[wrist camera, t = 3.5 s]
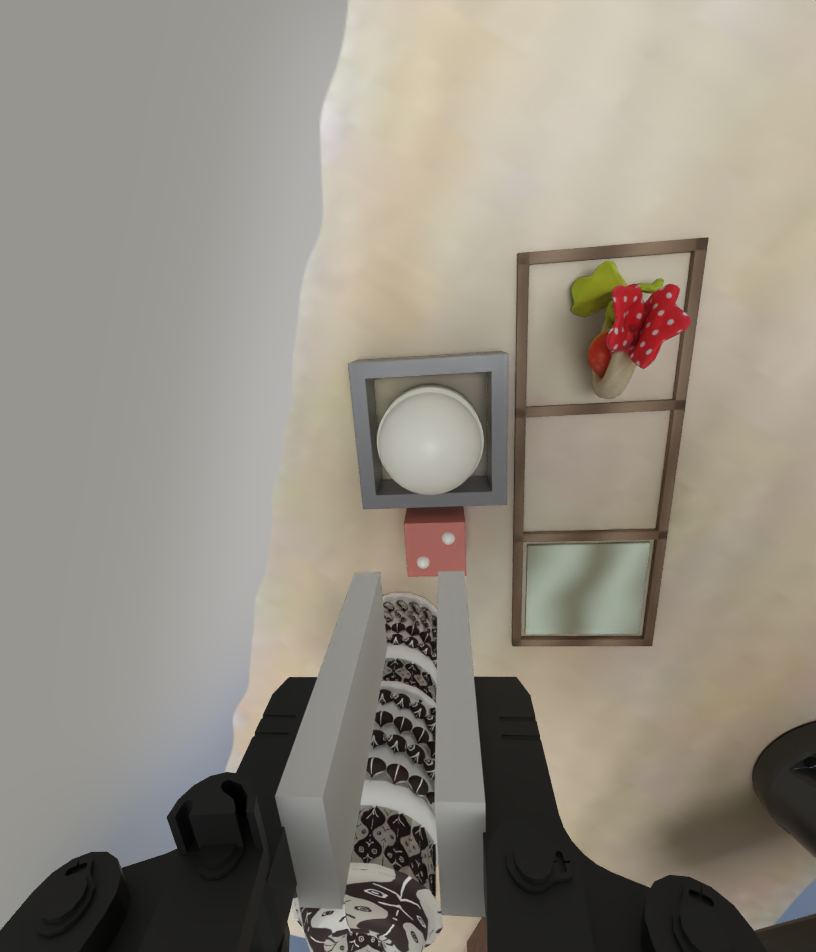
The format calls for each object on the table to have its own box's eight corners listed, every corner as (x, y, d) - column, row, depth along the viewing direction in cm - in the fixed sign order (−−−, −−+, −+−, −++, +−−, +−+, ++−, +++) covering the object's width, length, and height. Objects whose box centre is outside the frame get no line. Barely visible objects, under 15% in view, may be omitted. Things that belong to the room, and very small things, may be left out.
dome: (479, 380, 34) (489, 394, 27) (480, 476, 37) (489, 512, 30) (379, 386, 35) (362, 400, 28) (386, 479, 37) (373, 515, 30)
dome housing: (501, 351, 36) (511, 354, 30) (500, 546, 41) (508, 578, 36) (357, 360, 37) (343, 365, 31) (376, 549, 42) (366, 580, 37)
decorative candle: (347, 597, 44) (240, 900, 21) (435, 581, 43) (428, 886, 19) (372, 667, 47) (301, 1008, 23) (455, 654, 46) (470, 1002, 22)
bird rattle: (629, 359, 37) (668, 243, 31) (679, 438, 29) (745, 301, 23) (554, 359, 38) (578, 244, 32) (582, 436, 29) (622, 302, 23)
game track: (704, 238, 32) (708, 237, 32) (649, 642, 43) (652, 646, 43) (517, 254, 33) (518, 253, 33) (511, 642, 45) (512, 646, 44)
